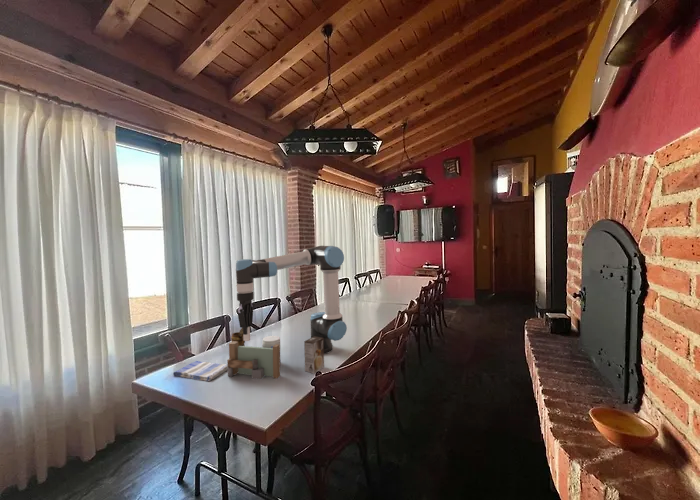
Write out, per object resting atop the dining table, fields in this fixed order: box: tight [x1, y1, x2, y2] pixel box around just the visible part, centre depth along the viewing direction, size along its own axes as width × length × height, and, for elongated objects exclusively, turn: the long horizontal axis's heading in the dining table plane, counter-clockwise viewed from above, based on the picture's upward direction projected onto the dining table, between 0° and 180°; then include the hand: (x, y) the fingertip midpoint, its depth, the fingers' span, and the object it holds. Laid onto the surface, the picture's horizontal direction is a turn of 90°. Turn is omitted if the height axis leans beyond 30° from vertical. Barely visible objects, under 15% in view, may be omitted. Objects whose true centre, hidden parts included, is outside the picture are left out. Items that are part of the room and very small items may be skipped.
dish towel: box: [173, 360, 228, 382], centre depth 159 cm, size 17×24×3 cm
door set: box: [227, 340, 281, 380], centre depth 153 cm, size 26×6×16 cm, turn 79°
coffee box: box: [303, 336, 325, 374], centre depth 160 cm, size 9×6×16 cm
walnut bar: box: [227, 358, 258, 369], centre depth 152 cm, size 16×3×4 cm, turn 81°
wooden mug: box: [230, 328, 246, 346], centre depth 184 cm, size 9×14×18 cm, turn 57°
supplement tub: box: [261, 335, 281, 348], centre depth 166 cm, size 10×10×15 cm
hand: (246, 340), depth 146 cm, fingers closed
